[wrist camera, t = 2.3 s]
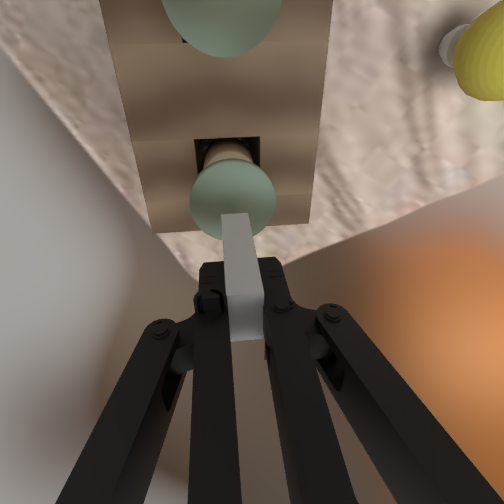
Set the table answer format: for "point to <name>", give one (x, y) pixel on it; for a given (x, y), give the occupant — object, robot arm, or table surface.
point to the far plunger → (231, 188)
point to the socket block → (220, 104)
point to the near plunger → (223, 23)
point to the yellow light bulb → (478, 55)
